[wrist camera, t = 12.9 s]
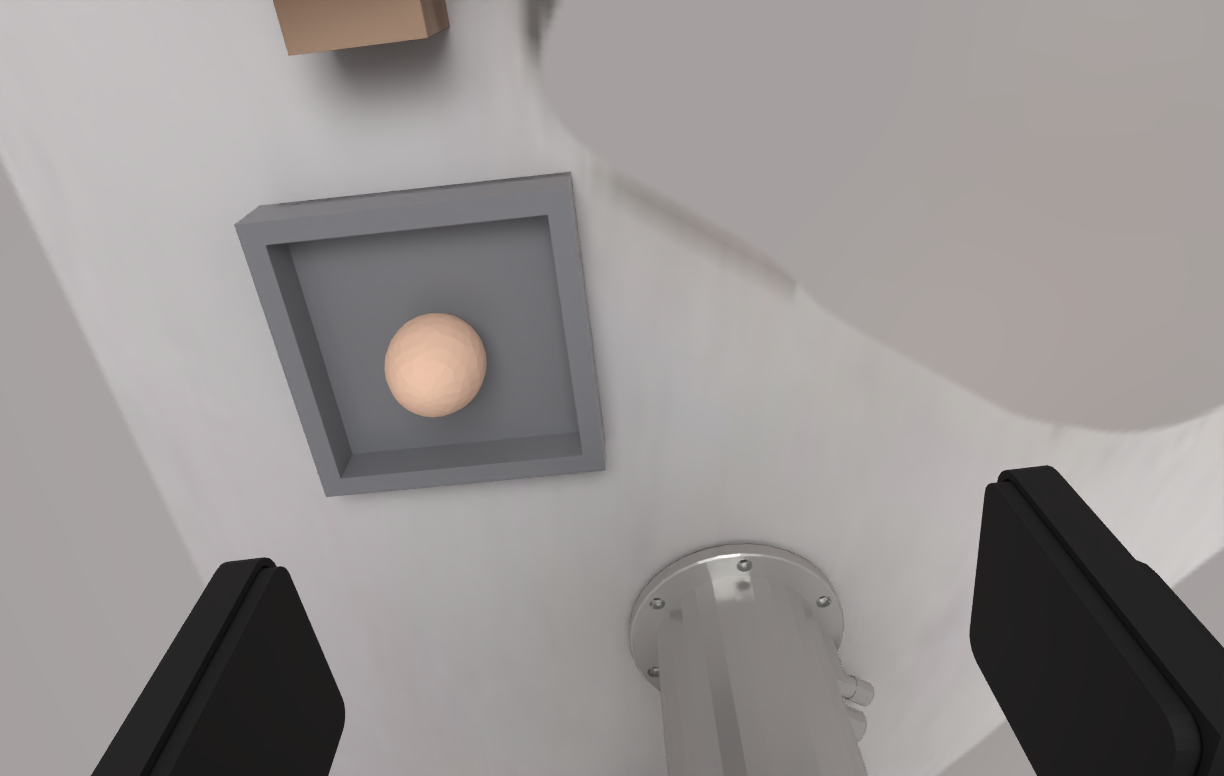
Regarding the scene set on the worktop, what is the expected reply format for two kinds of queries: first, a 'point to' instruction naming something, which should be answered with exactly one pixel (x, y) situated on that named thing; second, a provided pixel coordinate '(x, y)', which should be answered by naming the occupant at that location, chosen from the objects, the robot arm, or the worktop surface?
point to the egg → (435, 364)
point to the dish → (421, 284)
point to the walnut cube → (356, 22)
